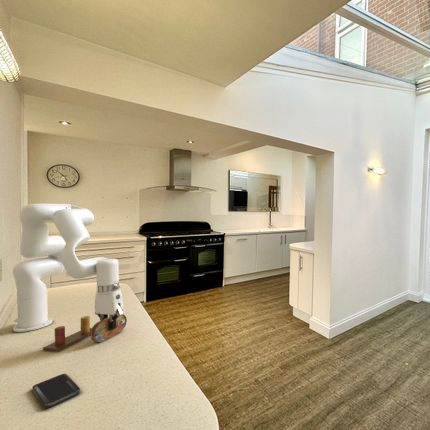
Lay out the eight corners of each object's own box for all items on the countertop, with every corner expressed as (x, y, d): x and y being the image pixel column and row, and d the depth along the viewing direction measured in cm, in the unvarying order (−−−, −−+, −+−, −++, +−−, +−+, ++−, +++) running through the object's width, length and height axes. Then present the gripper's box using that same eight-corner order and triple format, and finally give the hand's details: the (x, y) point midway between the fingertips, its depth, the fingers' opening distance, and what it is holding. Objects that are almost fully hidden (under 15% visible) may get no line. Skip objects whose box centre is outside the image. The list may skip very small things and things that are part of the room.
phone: (45, 406, 74) (31, 385, 82) (45, 409, 74) (31, 389, 82) (81, 389, 81) (65, 372, 89) (81, 393, 81) (65, 375, 89)
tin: (94, 346, 108) (94, 326, 107) (87, 344, 108) (88, 324, 108) (127, 329, 123) (127, 311, 122) (121, 328, 123) (121, 310, 123)
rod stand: (42, 350, 104) (42, 331, 104) (86, 330, 121) (86, 313, 121) (57, 351, 103) (57, 332, 103) (99, 331, 120) (99, 314, 120)
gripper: (132, 285, 117) (132, 326, 118) (100, 284, 120) (101, 323, 120) (116, 291, 110) (117, 334, 111) (83, 289, 112) (84, 331, 113)
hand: (109, 328), depth 115 cm, fingers closed on tin, 2 cm apart
